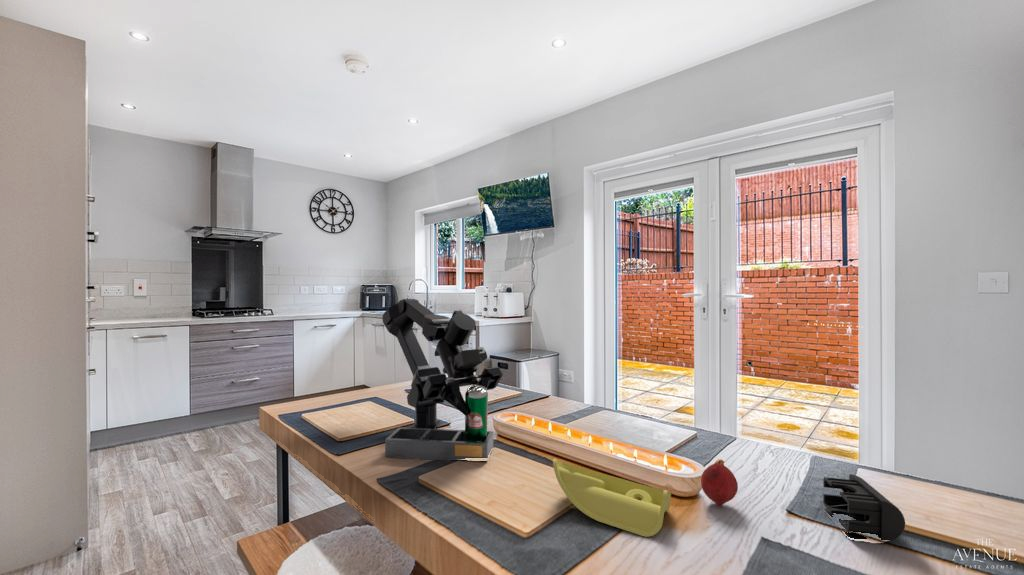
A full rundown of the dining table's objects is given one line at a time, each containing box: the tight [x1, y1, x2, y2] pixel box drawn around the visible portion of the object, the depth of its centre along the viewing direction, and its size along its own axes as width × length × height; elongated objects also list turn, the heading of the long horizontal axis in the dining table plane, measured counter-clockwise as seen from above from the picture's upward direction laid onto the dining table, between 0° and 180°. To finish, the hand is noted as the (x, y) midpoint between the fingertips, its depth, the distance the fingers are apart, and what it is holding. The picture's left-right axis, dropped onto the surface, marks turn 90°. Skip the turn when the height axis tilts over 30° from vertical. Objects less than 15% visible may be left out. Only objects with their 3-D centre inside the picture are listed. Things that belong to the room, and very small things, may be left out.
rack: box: [384, 427, 494, 461], centre depth 102 cm, size 8×23×4 cm, turn 83°
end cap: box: [822, 473, 906, 541], centre depth 71 cm, size 10×7×7 cm
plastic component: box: [552, 458, 672, 538], centre depth 78 cm, size 20×7×10 cm
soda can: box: [464, 385, 489, 442], centre depth 101 cm, size 5×5×12 cm
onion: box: [700, 458, 739, 506], centre depth 79 cm, size 6×6×8 cm
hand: (477, 413), depth 100 cm, fingers open, 4 cm apart
